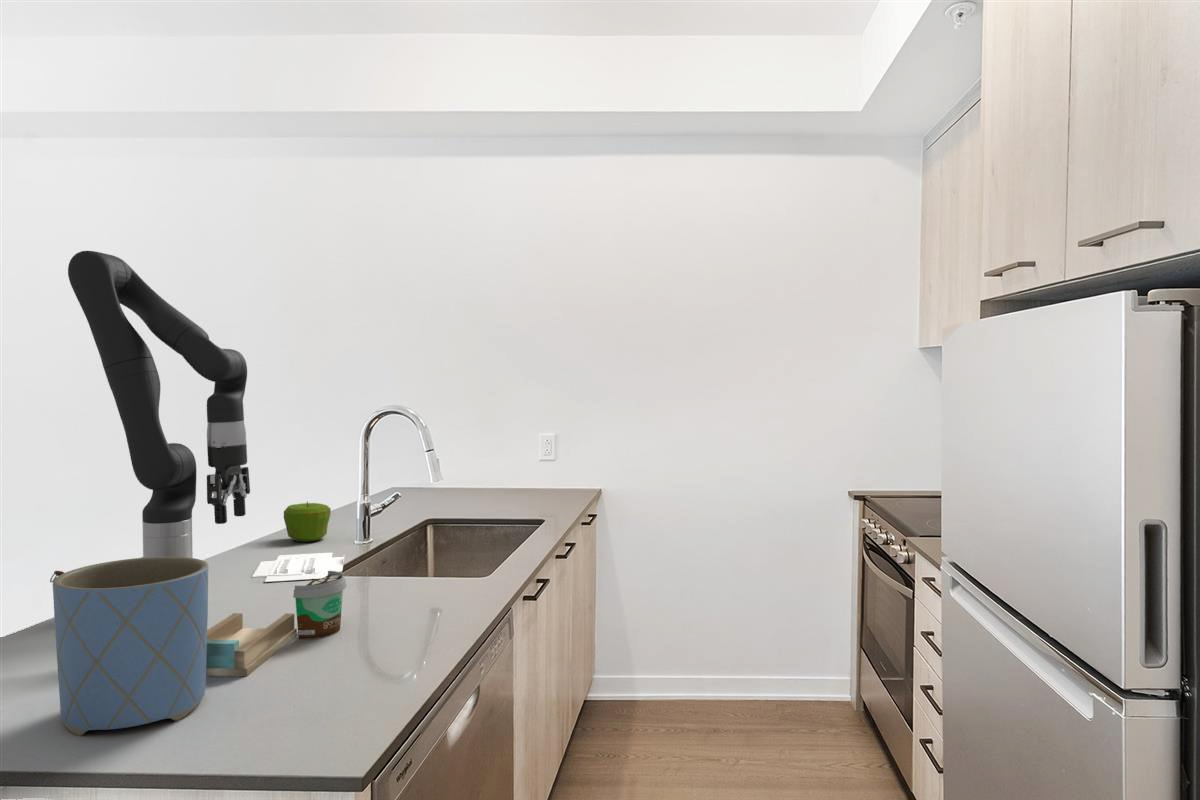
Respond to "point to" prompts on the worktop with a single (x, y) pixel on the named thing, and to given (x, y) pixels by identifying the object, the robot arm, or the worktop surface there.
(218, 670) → the channel board
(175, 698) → the planter
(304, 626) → the food container
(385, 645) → the worktop surface
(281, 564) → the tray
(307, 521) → the apple
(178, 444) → the robot arm
